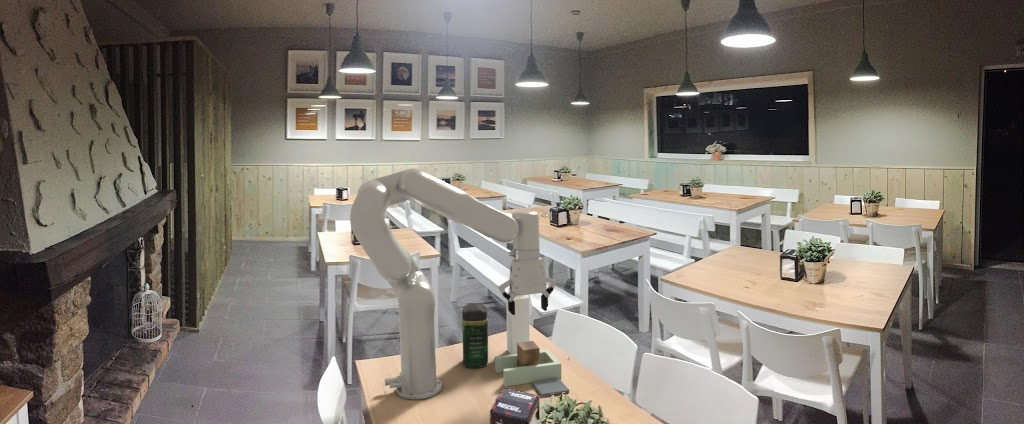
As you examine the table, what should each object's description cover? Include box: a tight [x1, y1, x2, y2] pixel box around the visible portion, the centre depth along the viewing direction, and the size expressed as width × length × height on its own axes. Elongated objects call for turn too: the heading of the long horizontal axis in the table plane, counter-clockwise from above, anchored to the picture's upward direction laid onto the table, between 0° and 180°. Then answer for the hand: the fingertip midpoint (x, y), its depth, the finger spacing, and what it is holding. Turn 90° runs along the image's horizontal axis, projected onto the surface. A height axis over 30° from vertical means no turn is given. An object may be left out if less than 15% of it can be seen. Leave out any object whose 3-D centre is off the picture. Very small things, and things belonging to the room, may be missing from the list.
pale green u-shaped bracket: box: [494, 349, 562, 387], centre depth 160 cm, size 17×11×4 cm, turn 106°
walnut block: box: [517, 340, 541, 367], centre depth 159 cm, size 5×6×9 cm
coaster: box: [531, 378, 570, 398], centre depth 151 cm, size 8×8×1 cm
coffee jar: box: [461, 302, 489, 369], centre depth 167 cm, size 10×8×19 cm
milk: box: [505, 287, 530, 355], centre depth 175 cm, size 6×6×22 cm
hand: (528, 311), depth 157 cm, fingers open, 9 cm apart
